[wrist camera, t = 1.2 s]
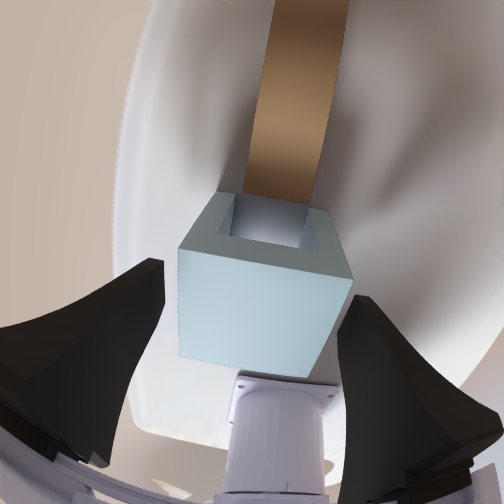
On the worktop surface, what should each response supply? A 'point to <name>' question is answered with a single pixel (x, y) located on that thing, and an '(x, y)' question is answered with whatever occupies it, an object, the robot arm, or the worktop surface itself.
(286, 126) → the brown board
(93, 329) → the robot arm
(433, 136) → the worktop surface
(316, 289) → the light blue open box
